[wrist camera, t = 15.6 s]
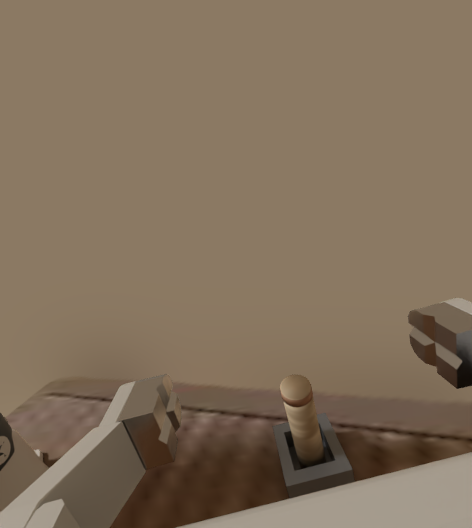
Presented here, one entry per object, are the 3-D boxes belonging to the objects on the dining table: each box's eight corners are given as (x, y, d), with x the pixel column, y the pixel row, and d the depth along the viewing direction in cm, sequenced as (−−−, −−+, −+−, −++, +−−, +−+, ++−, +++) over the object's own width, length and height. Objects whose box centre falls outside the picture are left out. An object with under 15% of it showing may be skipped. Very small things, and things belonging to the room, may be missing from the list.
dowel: (303, 480, 32) (284, 401, 29) (295, 451, 36) (276, 378, 32) (331, 472, 32) (315, 393, 29) (320, 445, 36) (304, 371, 32)
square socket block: (292, 509, 31) (286, 486, 30) (277, 446, 38) (272, 426, 37) (356, 493, 31) (352, 469, 30) (329, 433, 38) (325, 412, 37)
